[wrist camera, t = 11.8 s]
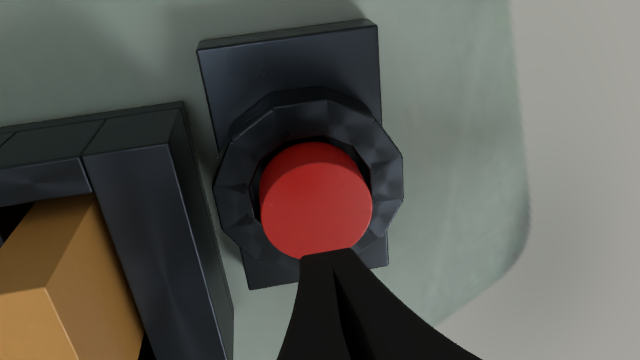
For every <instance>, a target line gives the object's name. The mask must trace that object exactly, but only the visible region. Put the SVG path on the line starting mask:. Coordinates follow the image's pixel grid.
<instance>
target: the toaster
mask: <svg viewBox="0 0 640 360" xmlns="http://www.w3.org/2000/svg"><path fill="white" fill-rule="evenodd" d="M92 192H94V193H95V195H96V198H97V201H98V204H99V206H100V209H101V212H102V214H103V217H104V220H105V223H106V225H107V228H108V231H109V233H110V236H111V239H112V241H113V244H114V247H115V250H116V252H117V255H118V258H119V260H120V263H121V266H122V269H123V271H124V274H125V277H126V279H127V282H128V285H129V287H130V290H131V293H132V296H133V298H134V301H135V304H136V306H137V309H138V312H139V315H140V317H141V320H142V323H143V325H144V328H145V331H144V335H143V340H142V344H141V348H140V352H139V356H138V360H233V337H234V307H233V303H232V299H231V295H230V291H229V287H228V283H227V279H226V275H225V271H224V267H223V263H222V259H221V255H220V251H219V247H218V243H217V238H216V234H215V230H214V226H213V222H212V218H211V214H210V210H209V206H208V202H207V198H206V194H205V190H204V186H203V182H202V178H201V174H200V170H199V165H198V161H197V157H196V153H195V149H194V145H193V141H192V137H191V133H190V129H189V125H188V121H187V117H186V113H185V109H184V105H183V102H174V103H167V104H160V105H153V106H146V107H139V108H132V109H126V110H119V111H112V112H105V113H98V114H91V115H84V116H77V117H70V118H63V119H57V120H50V121H43V122H36V123H29V124H22V125H15V126H8V127H1V128H0V248H1V247H2V245H3V244H4V243H5V241H6V240H7V239H8V238H9V236H10V235H11V234H12V232H13V231H14V230H15V228H16V227H17V226H18V225H19V223H20V222H21V221H22V219H23V218H24V217H25V215H26V214H27V213H28V212H29V210H30V209H31V208H32V206H33V205H34V204H35V202H38V201H44V200H51V199H57V198H63V197H70V196H76V195H82V194H89V193H92Z"/></svg>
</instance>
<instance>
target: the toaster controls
mask: <svg viewBox="0 0 640 360" xmlns="http://www.w3.org/2000/svg"><path fill="white" fill-rule="evenodd" d="M196 54H197V59H198V63H199V68H200V72H201V77H202V81H203V86H204V90H205V95H206V99H207V104H208V108H209V113H210V117H211V122H212V126H213V131H214V135H215V140H216V144H217V149H218V153H219V155H218V158H217V160H216V163H215V166H214V174H213V184H212V189H213V194H214V198H215V202H216V206H217V210H218V215H219V219H220V223H221V227H222V229H223V231H224V232H225V233H226V234H227V235H228V236H229V237H230V238H231V239H232V240H233V241H234V242H235V243H236V244H237V245H238V246H239V248H240V252H241V257H242V261H243V266H244V270H245V275H246V279H247V284H248V288H249V290H256V289H261V288H267V287H272V286H278V285H283V284H289V283H294V282H299V275H300V263H299V260H300V259H298V258H294V257H291V256H289V255H287V254H285V253H283V252H281V251H280V250H278V249H277V248H276V247H275V246H274V245H273V244H272V243H271V242H270V241H269V239H268V238H267V236H266V235H265V233H264V230H263V227H262V224H261V216H260V202H259V183H260V179H261V176H262V173H263V171H264V169H265V167H266V166H267V164H268V163H269V162H270V161H271V160H272V159H273V157H275V156H276V155H277V154H278V153H279V152H281V151H283V150H284V149H286V148H288V147H290V146H292V145H295V144H298V143H303V142H324V143H328V144H331V145H334V146H336V147H338V148H340V149H342V150H343V151H345V152H346V153H347V154H348V155H349V156H350V157H351V158H352V159H353V161H354V162H355V164H356V165H357V167H358V169H359V171H360V173H361V175H362V177H363V179H364V181H365V183H366V185H367V187H368V189H369V191H370V194H371V197H372V204H373V206H372V216H371V220H370V223H369V225H368V227H367V230H366V231H365V233H364V234H363V236H362V237H361V238H360V239H359V240H358V241H357V242H356V243H355V244H354V245H353V246H352V247H350V248H351V249H353V250H354V251H355V252H356V254H357V255H358V256H359V258H360V259H361V260H362V261H363V262H364V264H365V265H366V266H367V267H368V268H369V269H372V268H378V267H383V266H388V264H389V259H388V237H387V228H388V227H389V225H390V223H391V221H392V220H393V218H394V216H395V214H396V212H397V211H398V209H399V207H400V205H401V204H402V202H403V198H404V192H403V157H402V154H401V152H400V151H399V150H398V148H397V147H396V145H395V144H394V143H393V141H392V140H391V138H390V137H389V136H388V134H387V133H386V131H385V130H384V129H383V127H382V109H381V88H380V66H379V45H378V26H377V25H376V24H375V23H373V22H372V21H370V20H368V19H361V20H353V21H346V22H338V23H331V24H324V25H316V26H309V27H301V28H294V29H287V30H279V31H272V32H264V33H257V34H250V35H242V36H235V37H227V38H220V39H212V40H205V41H200V42H199V44H198V46H197V49H196Z"/></svg>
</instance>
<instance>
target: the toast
mask: <svg viewBox="0 0 640 360" xmlns="http://www.w3.org/2000/svg"><path fill="white" fill-rule="evenodd" d="M144 331H145V328H144V325H143V323H142V320H141V317H140V315H139V312H138V309H137V306H136V304H135V301H134V298H133V296H132V293H131V290H130V287H129V285H128V282H127V279H126V277H125V274H124V271H123V269H122V266H121V263H120V260H119V258H118V255H117V252H116V250H115V247H114V244H113V241H112V239H111V236H110V233H109V231H108V228H107V225H106V223H105V220H104V217H103V214H102V212H101V209H100V206H99V204H98V201H97V198H96V195H95V193H94V192H92V193H89V194H82V195H76V196H70V197H63V198H57V199H51V200H44V201H38V202H35V204H34V205H33V206H32V208H31V209H30V210H29V212H28V213H27V214H26V215H25V217H24V218H23V219H22V221H21V222H20V223H19V225H18V226H17V227H16V228H15V230H14V231H13V232H12V234H11V235H10V236H9V238H8V239H7V240H6V241H5V243H4V244H3V245H2V247H1V248H0V360H138V356H139V352H140V348H141V344H142V340H143V335H144Z"/></svg>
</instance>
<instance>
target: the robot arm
mask: <svg viewBox="0 0 640 360" xmlns="http://www.w3.org/2000/svg"><path fill="white" fill-rule="evenodd" d="M299 263H300V275H299V283H298V290H297V295H296V299H295V304H294V308H293V312H292V316H291V319H290V323H289V326H288V329H287V332H286V335H285V339H284V341H283V344H282V347H281V350H280V352H279V355H278V357H277V360H482V359H480V358H478V357H477V356H475V355H473V354H472V353H470V352H468V351H466V350H465V349H463V348H462V347H460V346H459V345H457V344H456V343H454V342H452V341H451V340H450V339H448V338H447V337H445V336H444V335H443V334H441V333H440V332H438V331H437V330H436V329H434V328H433V327H432V326H430V325H429V324H428V323H426V322H425V321H424V320H423V319H421V318H420V317H419V316H418V315H417V314H415V313H414V312H413V311H412V310H411V309H410V308H408V307H407V306H406V305H405V304H404V303H403V302H402V301H400V300H399V299H398V298H397V297H396V296H395V295H394V294H393V293H392V292H391V291H390V290H389V289H388V288H387V287H386V286H385V285H384V284H383V283H382V282H381V281H380V280H379V279H378V278H377V277H376V276H375V275H374V274H373V273H372V271H371V270H370V269H369V268H368V267H367V266H366V265H365V264H364V262H363V261H362V260H361V259H360V258H359V256H358V255H357V254H356V252H355V251H354V250H353V249H351V248H350V247H349V248H343V249H337V250H332V251H326V252H320V253H315V254H309V255H303V256H302V257H301V258H300V260H299Z"/></svg>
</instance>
